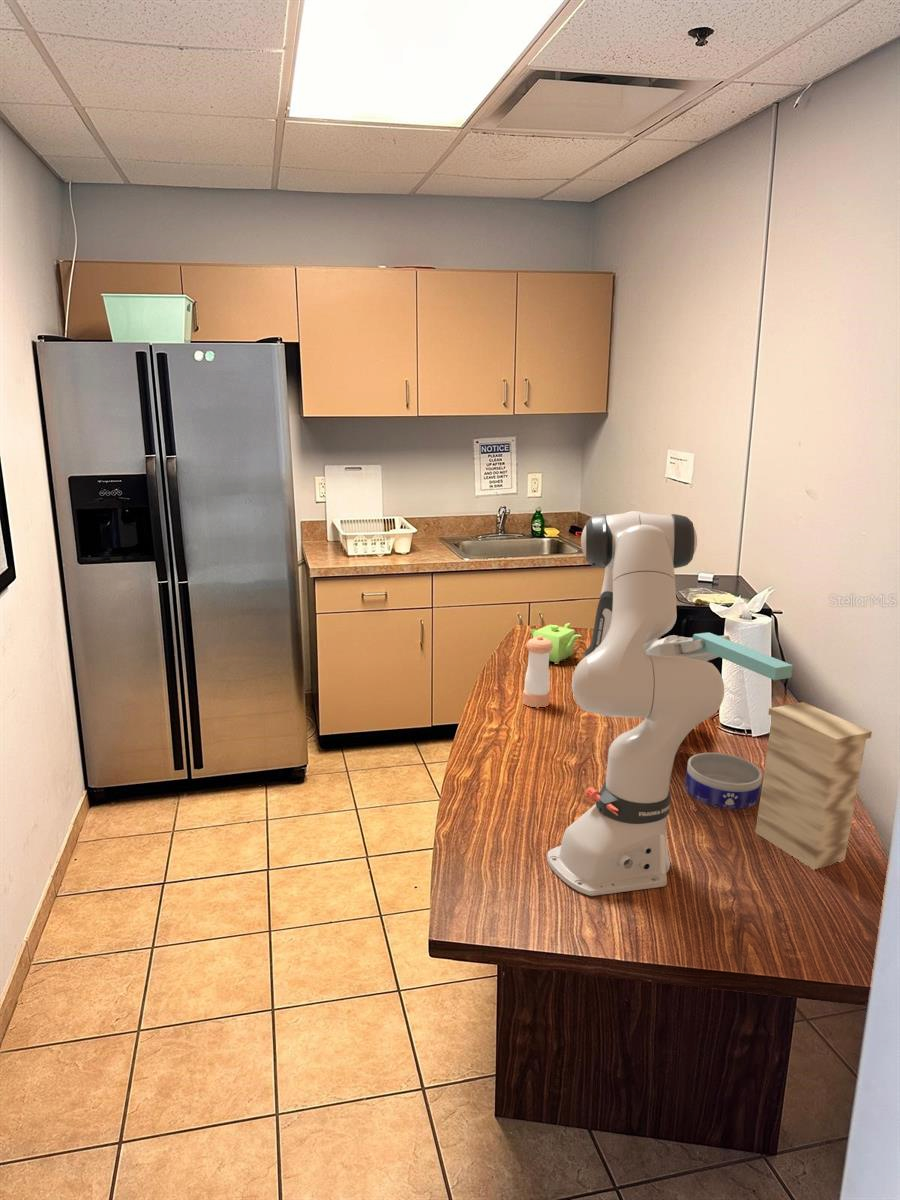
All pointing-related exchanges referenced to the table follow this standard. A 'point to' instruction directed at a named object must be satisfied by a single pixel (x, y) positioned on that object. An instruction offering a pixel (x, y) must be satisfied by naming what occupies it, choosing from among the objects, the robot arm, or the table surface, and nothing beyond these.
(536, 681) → the salt shaker
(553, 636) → the kettle
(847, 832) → the beige block
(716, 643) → the slat
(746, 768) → the dog bowl
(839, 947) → the table surface
